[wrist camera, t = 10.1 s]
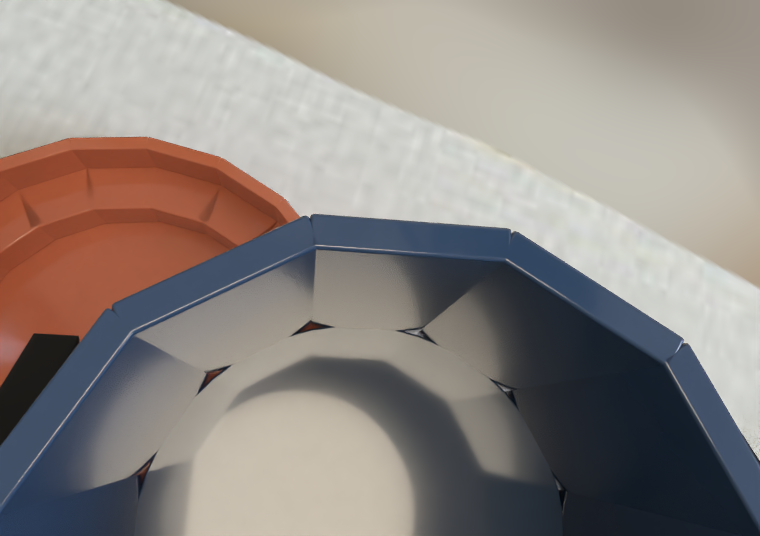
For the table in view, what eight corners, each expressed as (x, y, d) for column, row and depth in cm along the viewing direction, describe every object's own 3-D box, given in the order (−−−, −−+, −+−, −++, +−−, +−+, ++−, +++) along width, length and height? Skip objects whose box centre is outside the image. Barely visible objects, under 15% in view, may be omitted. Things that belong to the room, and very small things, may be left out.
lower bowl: (-207, 456, 26) (-307, 463, 22) (91, 102, 31) (56, 49, 26) (184, 720, 26) (160, 780, 22) (431, 323, 30) (452, 307, 26)
